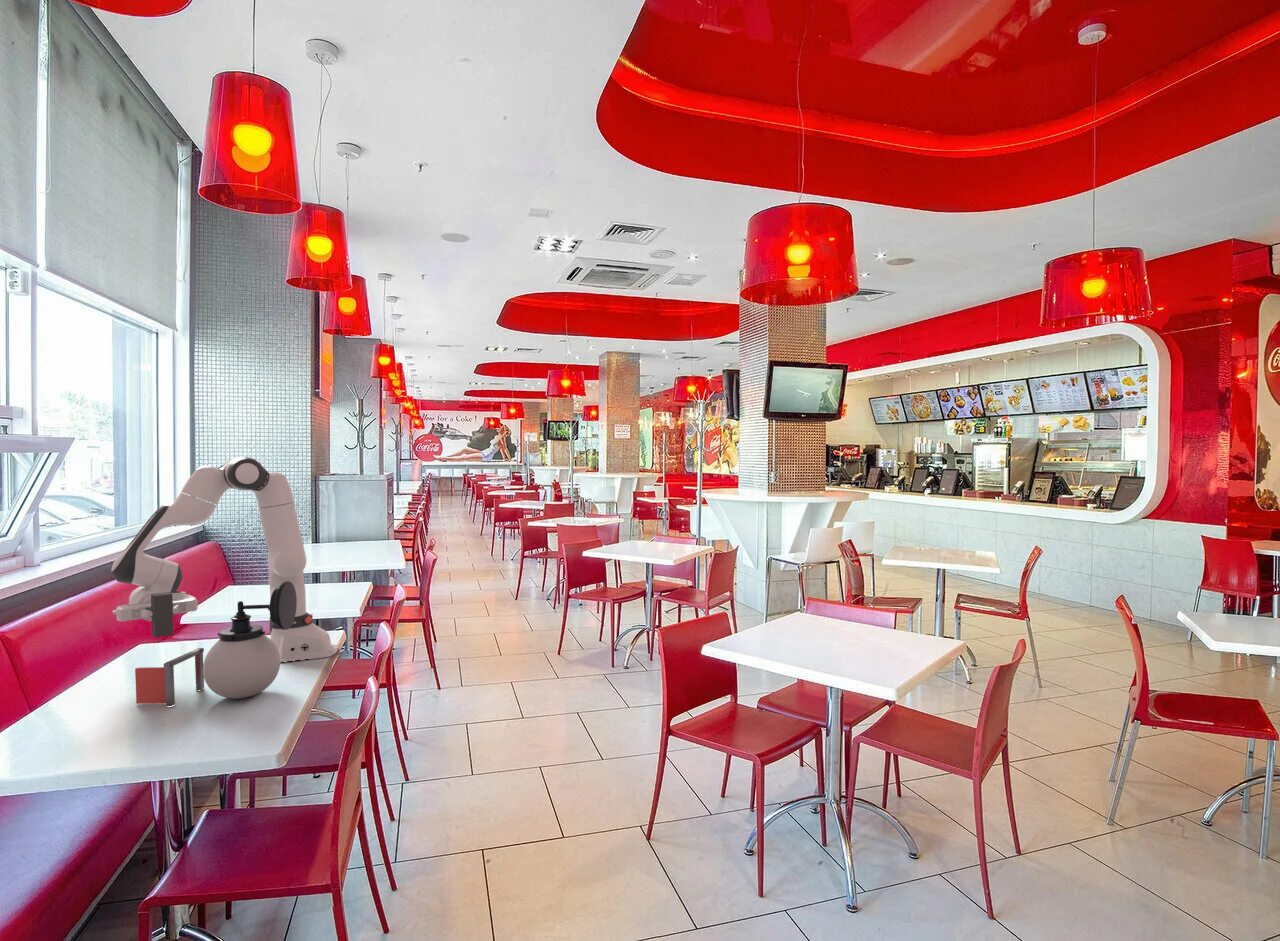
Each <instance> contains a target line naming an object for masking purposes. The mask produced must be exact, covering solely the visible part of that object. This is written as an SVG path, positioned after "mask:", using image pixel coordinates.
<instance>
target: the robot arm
mask: <svg viewBox="0 0 1280 941" xmlns="http://www.w3.org/2000/svg"><path fill="white" fill-rule="evenodd" d="M231 489H233V490H238V491H252V492H253V493H254V495H255V498H256V500H257V506H258V511H259V517H260V522H261V527H262V532H263V535H264V541H265V545H266V548H267V549H266V550H267V553H268V554H267V568H268V583H269V584H268V585H269V597H270V598H269V600H270V599H271V595H272V593H273V591H274V590H275V588H276V587H277V586H280V585H281V584H282V583H283V582H285V581H289V582H291V583H292V584H293V585H294V588H295V591H296V597H297V608H296V615H295V618H294V621H293V624H292V626H291V627H290V628H289V629H287V630H282V629H280V628H279V627H278V626H276V625H274V623H273V622H272V620H271V617H270V616H269V619H268V625H269V626H268V627H269V633H270V636H269V637H270V638H269V639H270V640H272V641H273V642H274V644H275V645H276V647H277V649H278V651H279V654H280V663H281V662H285V663H287V662H286V661H293V662H296V661H295V660H301V661H306V660H305V659H309V660H317V659H323V658H329V657H332V656H333V655H335V654H336V653H337V652H338V650H339V647H338V645H337V644H335V643H333V644H332V641H331V636H330V634H329V632H328V631H326V630H325V629H323V628H321V627H320V626H318V625H316V624H314V623H313V621H314V620H313V616H314V615H313V613H311V614H310V613H308V612H307V601H306V597H307V596H306V585H305V575H304V573H305V572H304V571H305V568H306V565H307V556H306V551H305V546H304V542H303V538H302V533H301V530H300V526H299V521H298V520H299V519H298V515H297V510H296V506H295V500H294V496H293V491H292V490H291V486H290V483H289V481H288V478H287V477H286V476H285V475H284V474H283V473H279V472H277V471H276V472H274V471H273V472H269V471H267V469H266V468H265V467H264V466H263V465H262V463H260V462H259V461H257V459H255V458H253V457H249V456H238V457H235V458H232V459H230V460H228V461H227V462H225V463H224V464H222V465H221V466H219V467H215V466H212V465H201V466H199V467H197V468H196V469H195V470H194V471H193V473H191V476H189V478H188V480H186V482H185V484H184V486H183V487H182V488H181V491H180V493H179V494H178V496H177V497H176V499H174V500H173V501H172V502H170V503H169V504H162V505H161V506H160V507H159V508H157V509H156V510H155V511H154V512H153V514H152V515H151V516H150V517H149V518H148V519H147V521H146V522H145V523H144V524H143V526H142V527H141V528H140V530H139V531H138V532H137V534H136V535H135V536H134V538H133V539H132V540H131V542H130V543H129V544H128V545H127V546H126V548H125V549H124V550H122V552H121V553H119V555H118V556H117V557H116V559H115V560H114V561H113V563H112V566H111V569H110V573H111V575H112V576H113V578H114V579H115V580H116V581H117V582H118V583H123V584H128V585H135V586H138V587H137V588H135V589H133V590H132V591H131V593H130V595H129V596H128V604H122V605H118V606H116V609H113V610H112V614H113V615H116V620H117V621H118V622H127V621H133V620H140V619H142V620H144V621H148V622H152V617H154V615H153V614H154V612H153V610H151V594H156V593H164V592H170V593H172V598H173V616H174V615H179V614H182V613H190V612H197V610H198V607H199V606H198V599H197V597H195V596H193V595H191V594H187V592H186V591H178V589H179V587H180V585H181V583H182V581H183V571H182V569H181V566H180V564H179V563H178V562H174V561H171V560H168V559H164V558H160V557H157V556H153V555H150V554H146V553H145V552H144V551H145V550H146V548H147V547H148V546H149V544H150V543H151V542H152V541H153V539H154V538H155V537H156V535H157V534H158V533H159V532H160V531H161V530H163V529H164V528H168V527H172V526H196V525H201V524H202V523H204V522H206V521H208V520H209V519H210V518H211V517H212V515H213V514H214V512H215V510H216V508H217V506H218V504H219V502H220V500H221V498H222V496H223V494H224V493H225V492H227V490H231Z"/></svg>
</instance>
